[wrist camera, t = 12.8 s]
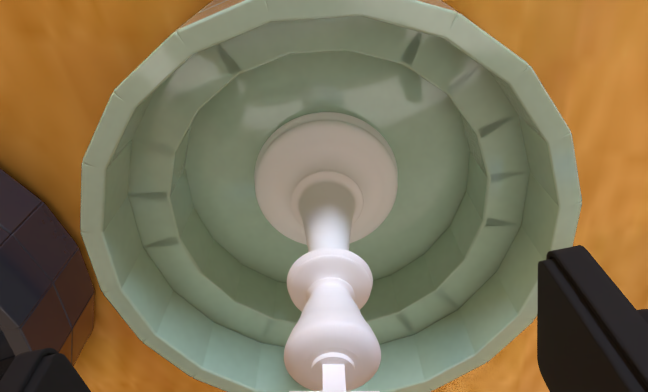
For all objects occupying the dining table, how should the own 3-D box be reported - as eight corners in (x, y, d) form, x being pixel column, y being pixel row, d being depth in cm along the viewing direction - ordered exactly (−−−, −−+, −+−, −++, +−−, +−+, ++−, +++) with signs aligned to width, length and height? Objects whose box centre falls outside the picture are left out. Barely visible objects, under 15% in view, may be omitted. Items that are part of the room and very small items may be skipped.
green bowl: (80, 225, 18) (15, 308, 14) (251, -138, 13) (223, -161, 9) (372, 358, 22) (384, 455, 18) (601, 119, 16) (690, 182, 13)
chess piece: (391, 238, 18) (458, 529, 10) (258, 238, 18) (204, 530, 10) (404, 112, 16) (509, 347, 7) (250, 110, 16) (170, 346, 7)
